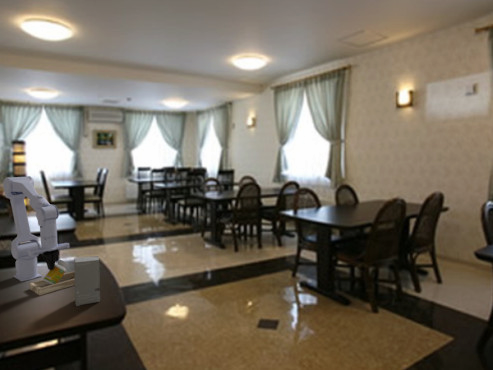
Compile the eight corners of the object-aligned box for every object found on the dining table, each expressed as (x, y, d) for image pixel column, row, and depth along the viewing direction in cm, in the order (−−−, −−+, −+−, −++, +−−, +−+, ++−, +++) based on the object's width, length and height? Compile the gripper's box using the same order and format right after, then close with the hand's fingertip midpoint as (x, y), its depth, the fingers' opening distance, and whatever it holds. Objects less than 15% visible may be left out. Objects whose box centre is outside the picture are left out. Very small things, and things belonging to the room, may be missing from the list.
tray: (29, 289, 136) (29, 283, 135) (79, 275, 151) (78, 269, 151) (39, 295, 129) (39, 289, 129) (90, 280, 144) (89, 274, 144)
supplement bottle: (50, 283, 134) (66, 261, 139) (39, 278, 135) (55, 257, 140) (57, 288, 138) (72, 266, 143) (47, 283, 139) (62, 262, 144)
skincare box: (75, 306, 120) (73, 263, 118) (75, 299, 126) (72, 257, 124) (101, 301, 124) (99, 259, 122) (100, 294, 130) (98, 254, 128)
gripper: (32, 241, 127) (34, 276, 129) (72, 234, 138) (74, 266, 140) (25, 238, 132) (27, 272, 133) (64, 231, 143) (66, 263, 144)
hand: (51, 269), depth 137 cm, fingers closed
